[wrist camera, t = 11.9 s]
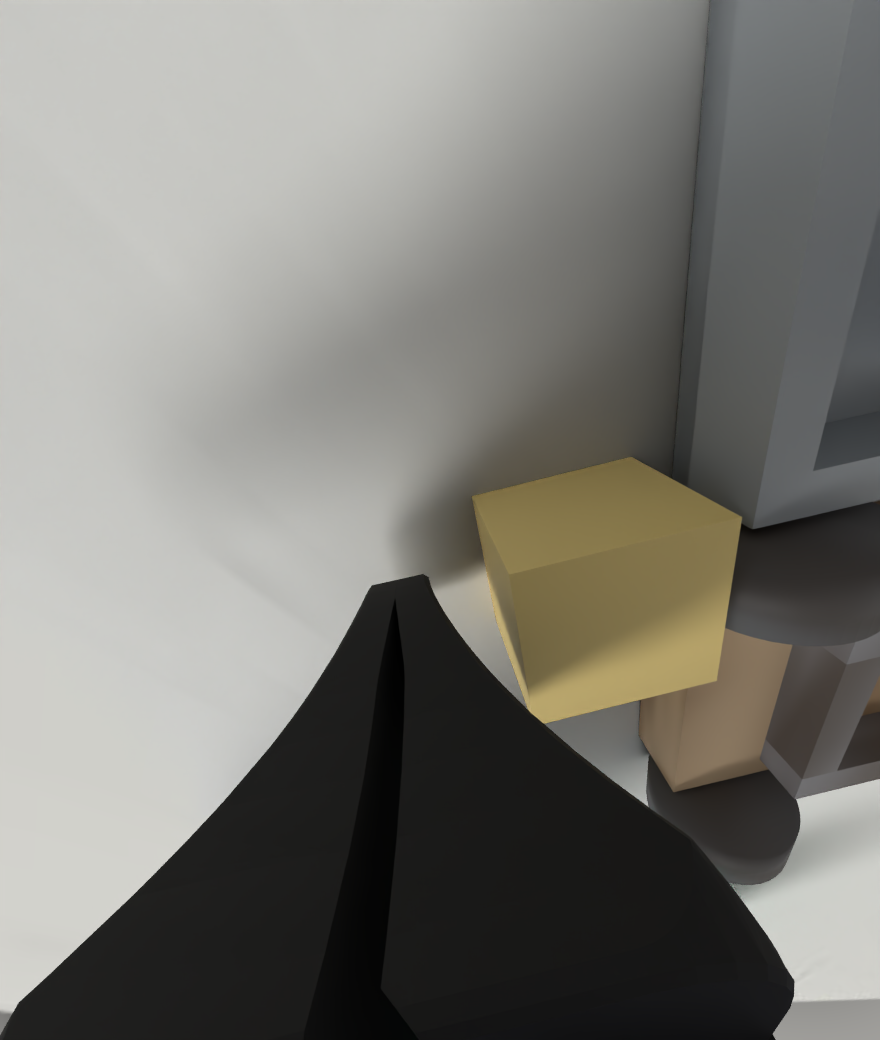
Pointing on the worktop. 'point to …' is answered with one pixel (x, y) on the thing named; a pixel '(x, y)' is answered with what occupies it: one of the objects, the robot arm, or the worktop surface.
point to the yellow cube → (607, 585)
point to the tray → (785, 263)
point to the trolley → (776, 695)
